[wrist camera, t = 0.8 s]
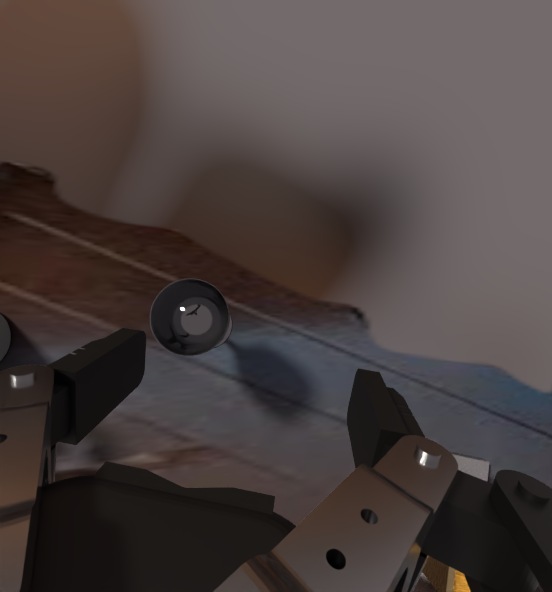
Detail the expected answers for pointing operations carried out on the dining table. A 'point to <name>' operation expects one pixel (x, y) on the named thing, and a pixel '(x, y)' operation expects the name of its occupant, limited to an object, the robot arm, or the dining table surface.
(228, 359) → the dining table surface
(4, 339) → the water bottle
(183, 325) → the wine glass
